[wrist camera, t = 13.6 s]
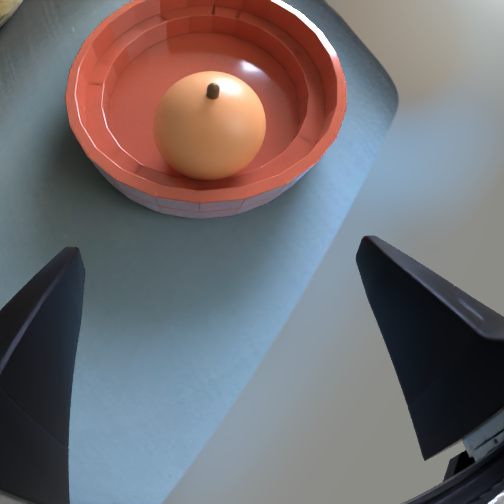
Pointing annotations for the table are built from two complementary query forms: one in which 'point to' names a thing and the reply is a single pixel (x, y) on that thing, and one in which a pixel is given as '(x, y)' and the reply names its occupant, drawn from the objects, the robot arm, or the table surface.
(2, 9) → the ceramic bowl
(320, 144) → the bowl
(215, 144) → the peach
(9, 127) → the table surface
